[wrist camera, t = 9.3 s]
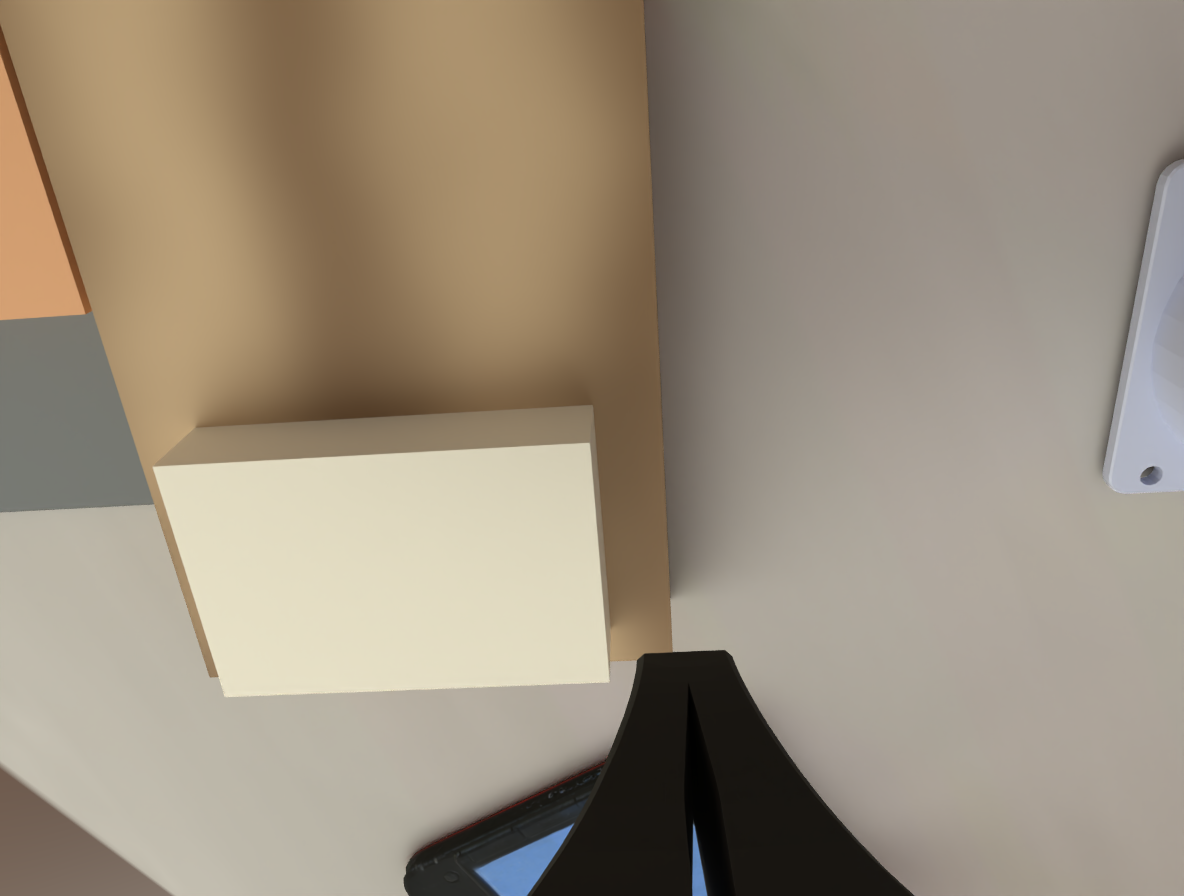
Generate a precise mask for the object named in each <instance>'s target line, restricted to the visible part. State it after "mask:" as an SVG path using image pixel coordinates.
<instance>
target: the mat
mask: <svg viewBox="0 0 1184 896" xmlns="http://www.w3.org/2000/svg"><path fill="white" fill-rule="evenodd" d="M150 504H154V502H153V499H152V496H151V492H150V489H149V486H148V483H147V480H146V477H145V474H144V471H143V467H142V464H141V461H140V458H139V455H138V452H137V449H136V446H135V443H134V439H133V436H132V433H131V430H130V427H129V424H128V421H127V418H126V414H125V411H124V408H123V405H122V402H121V399H120V396H119V393H118V389H117V386H116V383H115V380H114V377H113V374H112V371H111V368H110V365H109V361H108V358H107V355H106V352H105V349H104V346H103V343H102V340H101V336H100V333H99V330H98V327H97V324H96V321H95V318H94V315H93V312H92V311H91V312H89V313H87V314H83V315H68V316H54V317H39V318H24V319H10V320H0V512H16V511H36V510H55V509H74V508H93V507H112V506H131V505H150Z"/></svg>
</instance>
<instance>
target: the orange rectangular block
mask: <svg viewBox="0 0 1184 896" xmlns="http://www.w3.org/2000/svg"><path fill="white" fill-rule="evenodd" d="M91 311H92V308H91V305H90V302H89V299H88V296H87V293H86V290H85V287H84V283H83V280H82V277H81V274H80V271H79V268H78V265H77V262H76V258H75V255H74V252H73V249H72V246H71V243H70V240H69V237H68V234H67V230H66V227H65V224H64V221H63V218H62V215H61V212H60V209H59V205H58V202H57V199H56V196H55V193H54V190H53V187H52V184H51V181H50V177H49V174H48V171H47V168H46V165H45V162H44V159H43V156H42V152H41V149H40V146H39V143H38V140H37V137H36V134H35V131H34V128H33V124H32V121H31V118H30V115H29V112H28V109H27V106H26V103H25V99H24V96H23V93H22V90H21V87H20V84H19V81H18V78H17V74H16V71H15V68H14V65H13V62H12V59H11V56H10V53H9V50H8V46H7V43H6V40H5V37H4V34H3V31H2V28H1V25H0V320H10V319H24V318H39V317H54V316H68V315H83V314H87V313H89V312H91Z"/></svg>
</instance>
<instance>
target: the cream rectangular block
mask: <svg viewBox="0 0 1184 896" xmlns="http://www.w3.org/2000/svg"><path fill="white" fill-rule="evenodd" d="M153 470H154V473H155V477H156V480H157V483H158V486H159V489H160V492H161V496H162V499H163V502H164V505H165V508H166V511H167V515H168V518H169V521H170V524H171V527H172V530H173V534H174V537H175V540H176V543H177V546H178V549H179V553H180V556H181V559H182V562H183V565H184V568H185V572H186V575H187V578H188V581H189V584H190V588H191V591H192V594H193V597H194V600H195V603H196V607H197V610H198V613H199V616H200V619H201V622H202V626H203V629H204V632H205V635H206V638H207V641H208V645H209V648H210V651H211V654H212V657H213V660H214V664H215V667H216V670H217V673H218V676H219V680H220V683H221V686H222V689H223V692H224V695H225V697H240V696H266V695H292V694H318V693H343V692H369V691H395V690H421V689H447V688H473V687H498V686H524V685H550V684H576V683H602V682H610V643H611V625H610V613H609V600H608V588H607V575H606V563H605V550H604V538H603V525H602V513H601V500H600V488H599V475H598V462H597V450H596V437H595V425H594V412H593V405H581V406H564V407H546V408H529V409H511V410H494V411H477V412H459V413H442V414H424V415H407V416H390V417H372V418H355V419H337V420H320V421H302V422H285V423H268V424H250V425H233V426H215V427H198V428H194V429H193V430H192V431H191V432H190V433H189V434H188V435H187V436H185V437H184V438H183V439H182V440H181V441H180V442H179V443H178V444H177V445H176V446H175V447H173V448H172V449H171V450H170V451H169V452H168V453H167V454H166V455H165V456H164V457H163V458H161V459H160V460H159V461H158V462H157V463H156V464H155V465H154V466H153Z"/></svg>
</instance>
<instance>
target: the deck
mask: <svg viewBox="0 0 1184 896" xmlns="http://www.w3.org/2000/svg"><path fill="white" fill-rule="evenodd" d="M0 25H1V28H2V31H3V34H4V37H5V40H6V43H7V46H8V50H9V53H10V56H11V59H12V62H13V65H14V68H15V71H16V74H17V78H18V81H19V84H20V87H21V90H22V93H23V96H24V99H25V103H26V106H27V109H28V112H29V115H30V118H31V121H32V124H33V128H34V131H35V134H36V137H37V140H38V143H39V146H40V149H41V152H42V156H43V159H44V162H45V165H46V168H47V171H48V174H49V177H50V181H51V184H52V187H53V190H54V193H55V196H56V199H57V202H58V205H59V209H60V212H61V215H62V218H63V221H64V224H65V227H66V230H67V234H68V237H69V240H70V243H71V246H72V249H73V252H74V255H75V258H76V262H77V265H78V268H79V271H80V274H81V277H82V280H83V283H84V287H85V290H86V293H87V296H88V299H89V302H90V305H91V308H92V312H93V315H94V318H95V321H96V324H97V327H98V330H99V333H100V336H101V340H102V343H103V346H104V349H105V352H106V355H107V358H108V361H109V365H110V368H111V371H112V374H113V377H114V380H115V383H116V386H117V389H118V393H119V396H120V399H121V402H122V405H123V408H124V411H125V414H126V418H127V421H128V424H129V427H130V430H131V433H132V436H133V439H134V443H135V446H136V449H137V452H138V455H139V458H140V461H141V464H142V467H143V471H144V474H145V477H146V480H147V483H148V486H149V489H150V492H151V496H152V499H153V502H154V505H155V508H156V511H157V514H158V517H159V520H160V524H161V527H162V530H163V533H164V536H165V539H166V542H167V545H168V549H169V552H170V555H171V558H172V561H173V564H174V567H175V570H176V573H177V577H178V580H179V583H180V586H181V589H182V592H183V595H184V598H185V602H186V605H187V608H188V611H189V614H190V617H191V620H192V623H193V627H194V630H195V633H196V636H197V639H198V642H199V645H200V648H201V651H202V655H203V658H204V661H205V664H206V667H207V670H208V673H209V676H210V677H219V676H218V673H217V670H216V667H215V664H214V660H213V657H212V654H211V651H210V648H209V645H208V641H207V638H206V635H205V632H204V629H203V626H202V622H201V619H200V616H199V613H198V610H197V607H196V603H195V600H194V597H193V594H192V591H191V588H190V584H189V581H188V578H187V575H186V572H185V568H184V565H183V562H182V559H181V556H180V553H179V549H178V546H177V543H176V540H175V537H174V534H173V530H172V527H171V524H170V521H169V518H168V515H167V511H166V508H165V505H164V502H163V499H162V496H161V492H160V489H159V486H158V483H157V480H156V477H155V473H154V470H153V466H154V465H155V464H156V463H157V462H158V461H159V460H160V459H161V458H163V457H164V456H165V455H166V454H167V453H168V452H169V451H170V450H171V449H172V448H173V447H175V446H176V445H177V444H178V443H179V442H180V441H181V440H182V439H183V438H184V437H185V436H187V435H188V434H189V433H190V432H191V431H192V430H193V429H194V428H198V427H215V426H233V425H250V424H268V423H285V422H302V421H320V420H337V419H355V418H372V417H390V416H407V415H424V414H442V413H459V412H477V411H494V410H511V409H529V408H546V407H564V406H581V405H593V412H594V425H595V437H596V450H597V462H598V475H599V488H600V500H601V513H602V525H603V538H604V550H605V563H606V575H607V588H608V600H609V613H610V625H611V643H610V661H632V660H638V659H639V658H640V657H641V656H642V655H643V654H644V653H667V652H673V651H672V629H671V606H670V584H669V561H668V539H667V517H666V494H665V472H664V449H663V427H662V405H661V382H660V360H659V337H658V315H657V293H656V270H655V248H654V225H653V203H652V180H651V158H650V136H649V113H648V91H647V68H646V46H645V24H644V1H643V0H0Z"/></svg>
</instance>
